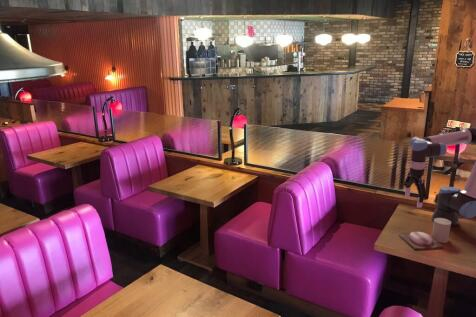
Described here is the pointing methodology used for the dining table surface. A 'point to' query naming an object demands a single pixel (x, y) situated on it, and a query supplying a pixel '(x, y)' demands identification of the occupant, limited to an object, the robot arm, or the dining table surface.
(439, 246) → the stand
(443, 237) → the can
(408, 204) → the dining table surface
